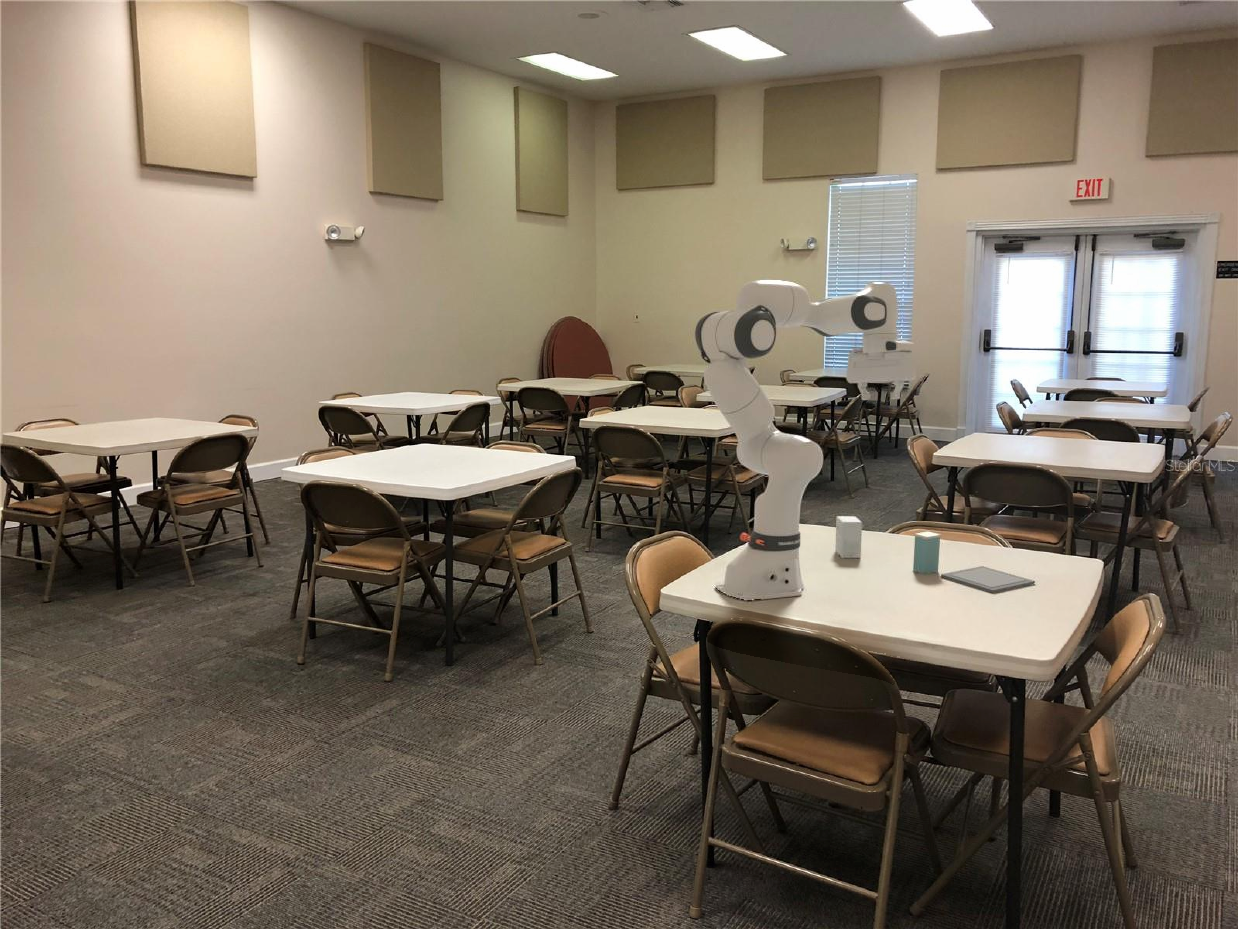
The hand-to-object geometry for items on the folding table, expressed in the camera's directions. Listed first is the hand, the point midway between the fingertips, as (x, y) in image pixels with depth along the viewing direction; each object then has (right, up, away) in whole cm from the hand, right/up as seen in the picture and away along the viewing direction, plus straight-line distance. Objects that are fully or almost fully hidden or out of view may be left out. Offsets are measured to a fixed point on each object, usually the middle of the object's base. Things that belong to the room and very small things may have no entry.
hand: (880, 399), depth 234 cm
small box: (-3, -43, +23) cm, 49 cm away
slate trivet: (+27, -47, -3) cm, 54 cm away
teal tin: (+14, -46, +6) cm, 48 cm away
